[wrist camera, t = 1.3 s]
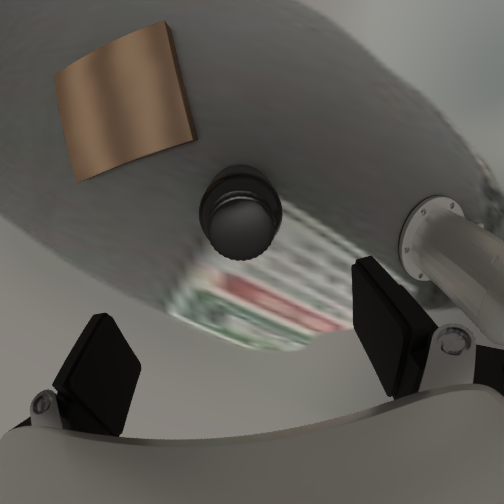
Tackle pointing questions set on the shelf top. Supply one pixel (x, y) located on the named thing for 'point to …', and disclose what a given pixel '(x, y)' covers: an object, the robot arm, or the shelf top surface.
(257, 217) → the supplement bottle
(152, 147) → the wavy wooden tray
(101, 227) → the shelf top surface
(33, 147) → the shelf top surface
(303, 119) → the shelf top surface
